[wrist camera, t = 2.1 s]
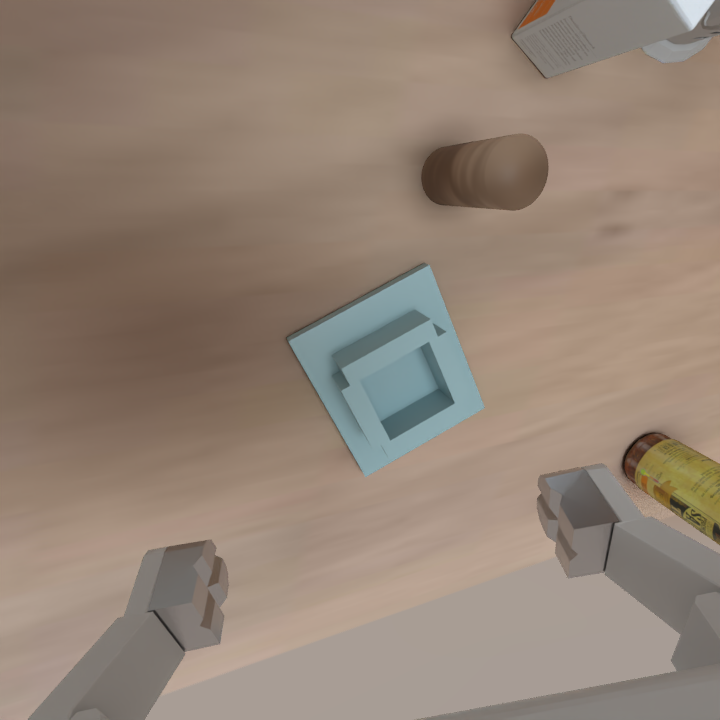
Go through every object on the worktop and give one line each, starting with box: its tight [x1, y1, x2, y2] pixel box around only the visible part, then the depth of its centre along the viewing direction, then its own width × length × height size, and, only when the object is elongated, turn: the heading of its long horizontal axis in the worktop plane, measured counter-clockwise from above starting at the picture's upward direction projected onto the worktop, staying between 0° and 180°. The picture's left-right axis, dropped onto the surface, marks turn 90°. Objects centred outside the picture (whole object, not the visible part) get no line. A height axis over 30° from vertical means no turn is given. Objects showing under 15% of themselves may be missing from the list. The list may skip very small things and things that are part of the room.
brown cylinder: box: [422, 134, 548, 210], centre depth 31 cm, size 4×4×9 cm
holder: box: [287, 263, 485, 477], centre depth 37 cm, size 14×12×4 cm
